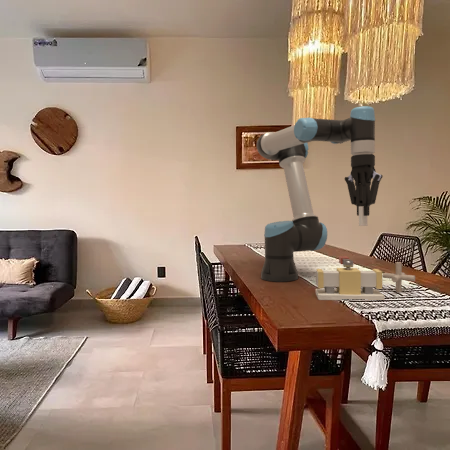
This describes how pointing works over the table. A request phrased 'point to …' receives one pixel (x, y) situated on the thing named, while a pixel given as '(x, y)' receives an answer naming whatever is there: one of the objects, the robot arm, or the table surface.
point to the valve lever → (345, 261)
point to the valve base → (349, 284)
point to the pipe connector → (398, 277)
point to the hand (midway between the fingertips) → (363, 225)
